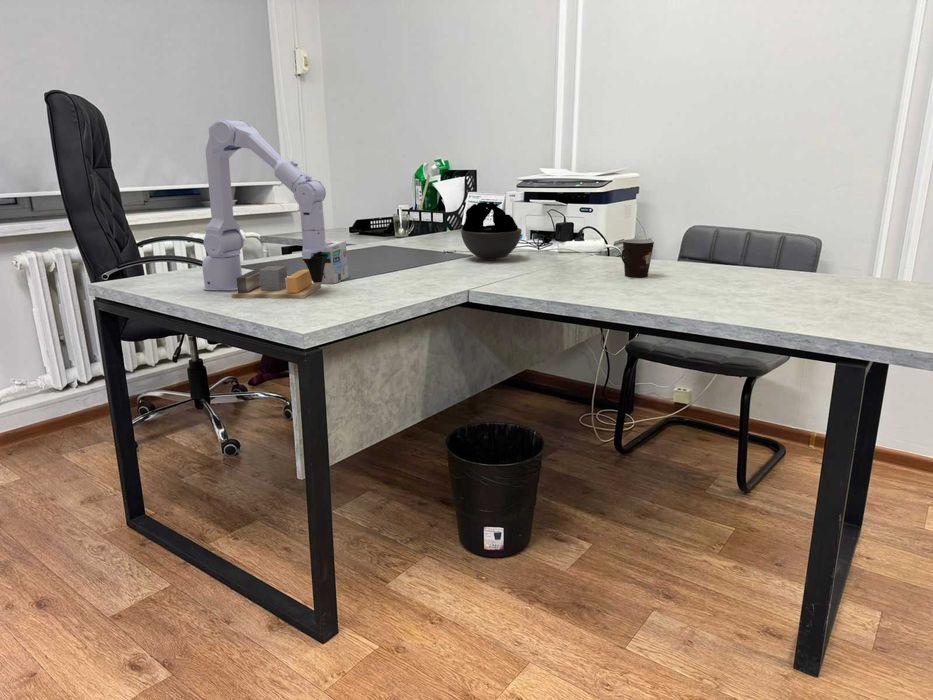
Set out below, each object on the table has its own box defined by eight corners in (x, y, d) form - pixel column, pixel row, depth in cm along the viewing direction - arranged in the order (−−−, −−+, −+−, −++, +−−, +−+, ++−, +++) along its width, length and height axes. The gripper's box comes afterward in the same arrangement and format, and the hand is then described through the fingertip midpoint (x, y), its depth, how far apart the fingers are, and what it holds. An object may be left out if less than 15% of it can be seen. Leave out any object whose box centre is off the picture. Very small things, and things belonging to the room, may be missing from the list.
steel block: (261, 291, 170) (259, 270, 169) (270, 286, 176) (267, 266, 174) (279, 291, 170) (277, 270, 168) (288, 286, 176) (286, 266, 174)
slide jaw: (285, 292, 167) (284, 278, 166) (301, 283, 179) (300, 269, 177) (297, 292, 167) (295, 278, 166) (312, 283, 178) (310, 269, 177)
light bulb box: (335, 284, 183) (332, 245, 180) (312, 283, 185) (309, 245, 181) (349, 277, 193) (346, 240, 190) (327, 276, 195) (324, 240, 191)
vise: (231, 297, 168) (229, 278, 166) (253, 286, 181) (251, 268, 180) (303, 298, 166) (302, 278, 165) (320, 287, 179) (319, 269, 178)
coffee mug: (640, 272, 194) (643, 238, 191) (657, 277, 186) (660, 242, 184) (606, 275, 191) (607, 240, 188) (621, 280, 183) (623, 244, 180)
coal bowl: (475, 253, 233) (474, 199, 227) (529, 256, 225) (529, 200, 220) (451, 262, 215) (450, 204, 210) (509, 266, 208) (509, 205, 202)
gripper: (319, 233, 161) (324, 287, 165) (336, 226, 174) (340, 276, 178) (291, 233, 161) (296, 287, 165) (310, 226, 175) (314, 276, 179)
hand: (317, 282), depth 172 cm, fingers closed
